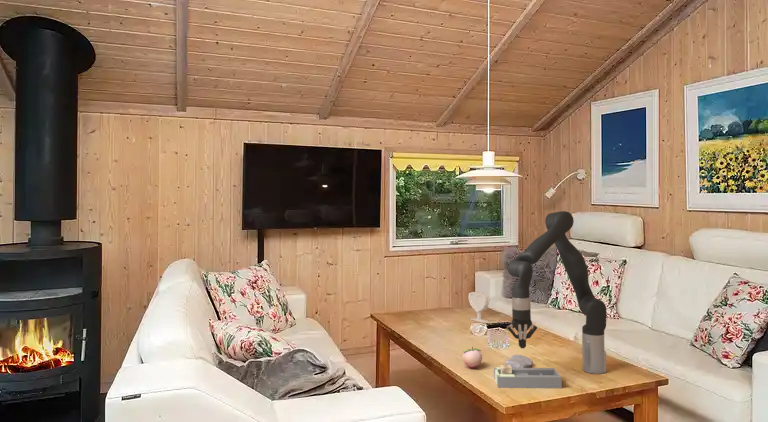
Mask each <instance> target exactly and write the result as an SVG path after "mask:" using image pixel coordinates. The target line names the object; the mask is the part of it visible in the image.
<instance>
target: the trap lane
mask: <svg viewBox="0 0 768 422" xmlns="http://www.w3.org/2000/svg"><path fill="white" fill-rule="evenodd" d="M493 377H494V378H493V379H494V380H495V383H496V386H497V388H499V389H502V388H504V389H505V388H507V389H562V388H563V386H562V383H563V381H562V378H563V377H562V376H561V375H560V374H559V372H558V371H557V370H556V369H555V368H554V367H530V368H512V374H501V366H496V367H494V368H493Z"/></svg>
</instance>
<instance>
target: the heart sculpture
mask: <svg viewBox="0 0 768 422" xmlns="http://www.w3.org/2000/svg"><path fill="white" fill-rule="evenodd" d="M468 302H469V304H470V305H469V306H471V307H472V309H473V310H474V311H475V313H476V317H471V318H470V320H472V321H475V322H480V323H483V324H484V323H488V322H489V321H488V320H485V319H482V314H481V313H482V312H483V311H485V310H486V309H488V307H489V305H490V296H489V295H488V293H485V292H479V291H472V292H469V293H468Z"/></svg>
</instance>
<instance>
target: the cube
mask: <svg viewBox="0 0 768 422" xmlns="http://www.w3.org/2000/svg"><path fill="white" fill-rule="evenodd" d="M500 367H501V374H512V368H511V366H510V365H506V364H500Z"/></svg>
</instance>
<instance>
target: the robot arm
mask: <svg viewBox="0 0 768 422" xmlns="http://www.w3.org/2000/svg"><path fill="white" fill-rule="evenodd" d="M544 223H545V228H546V229H547V231H545V232H544V233H543V234H541V235H540V236H538V237H536V239H534V240H532V242H531V243H530V244H529V245H528V247H526V248H525V250H524V251H523V252H521V253H520V254H518V255H517V256H516V257H514V258H513V259H511V261H510V262H509V264H508V266H507V272H508V274H509V275H510V276H511V277H516V278H519V280H518V282H514V283H513V284H512V288H511V291H512V299H511V313H512V314H511V315H512V320H511V323H510V324H509V325H507V326H506V328H507V330H508V331H509V332H510V333H511V335H512V336H513V338H515V339H518V346H519V347H520V349H525V348H526V347H527V339H531V338H532V336H533V334H534V333H536V331H537V329H538V326H536V324H533V321H532V320H531V319H532V315H531V311H532V310H531V308H532V307H531V299H530V298H531V297H530V286H531V282H532V278H533V273H534V268H533V266H532V265H534V264H537V263H538V261H539V260H540V259H542V257H543V256H544V254H545V253H546V252H547V251H548V250H549V248H551V247H552V246H553V245H555V248H556V249H557V251H558V254H559V257H560V259H561V262H562V264H563V267H564V270H565V273H566V274H567V276H568V279H569V281H570V284H571V286H572V288H573V290H574V294H575V297H576V300H577V304H578V308H579V310H580V312H581V313H582V314H583V315H584V316H585V324H584V325H583V326H582V328H581V331H582V332H581V333H582V334H581V336H582V337H581V338H582V342H581V343H582V345H581V346H582V347H581V348H582V350H581V351H582V371H584V372H586V373H588V374H595V375H601V374H603V373H604V374H605V373H607V351H606V350H605V329H606V327H607V306H606V304H605V302H604V301H603V300H602V299H599V298H597V297H595V295H594V292H593V291H592V289H591V287H590V283H589V268H588V265H587V263H586V260H585V258H584V256H583V254H582V253H581V251H580V250H578V248H576V246H575V245H574V244H573V243H572V242H571V241H570V240H569V238H568V236H567V235H566V233H568V232H569V231H570V230H571V229H572V228H573V226H574V217H573V214H571V213H570V212H569V211H566V210H565V211H564V210H561V211H554V212H550V213H548V214H547V215H546V216H545V219H544ZM514 329H515V331H516V332H517V334H516V332H515V331H514Z"/></svg>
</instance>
